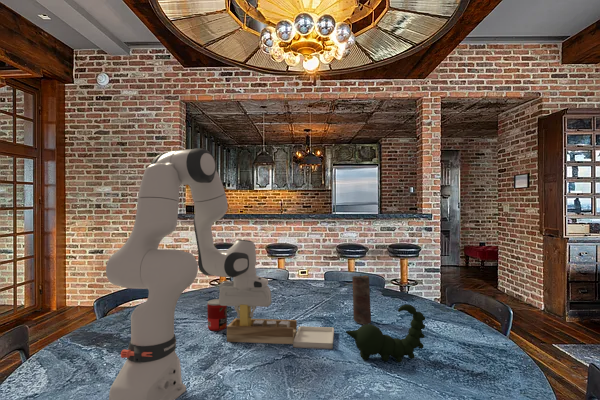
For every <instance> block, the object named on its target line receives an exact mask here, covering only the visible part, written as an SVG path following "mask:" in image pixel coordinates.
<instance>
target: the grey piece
mask: <svg viewBox="0 0 600 400" xmlns="http://www.w3.org/2000/svg"><path fill="white" fill-rule="evenodd" d="M267 327H276V321H267Z"/></svg>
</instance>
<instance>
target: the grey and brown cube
mask: <svg viewBox="0 0 600 400" xmlns="http://www.w3.org/2000/svg"><path fill="white" fill-rule="evenodd" d="M278 327H290V322H289V321H281V322H280V323H279V324H278Z"/></svg>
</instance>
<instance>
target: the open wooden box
mask: <svg viewBox="0 0 600 400" xmlns="http://www.w3.org/2000/svg"><path fill="white" fill-rule="evenodd" d="M255 320H263V321H264V327H260V326H253V323H254V321H255ZM267 321H276V327H267ZM281 321H289V322H290V327H278V324H279V323H280V322H281ZM297 321H298V320H297V319H279V318H278V319H274V318H273V319H272V318H270V319H269V318H251V326H240V317H235V318H234V319H233V320H232V321H231V322H230V323H229V324H227V327H226V341H227V343H229V342H231V343H255V344H257V343H259V344H278V345H279V344H283V345H293V341H294V338H295V336H296V333H297V330H298V327H297V326H298V325H297V324H298V323H297Z"/></svg>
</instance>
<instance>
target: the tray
mask: <svg viewBox="0 0 600 400" xmlns="http://www.w3.org/2000/svg"><path fill="white" fill-rule="evenodd" d="M334 336H335V327H332V326H331V327H330V326H329V327H328V326H327V327H326V326H305V325H304V326H301V325H299V326H298V327H297V333H296V336H295V338H294V341H293V344H292V347H293V348H295V349H298V348H299V349H300V348H301V349H320V350H333V349H334V348H333V347H334V339H335V337H334Z"/></svg>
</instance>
